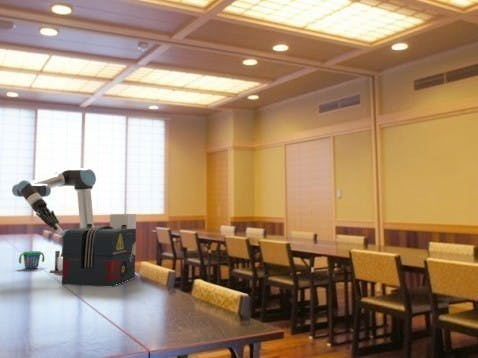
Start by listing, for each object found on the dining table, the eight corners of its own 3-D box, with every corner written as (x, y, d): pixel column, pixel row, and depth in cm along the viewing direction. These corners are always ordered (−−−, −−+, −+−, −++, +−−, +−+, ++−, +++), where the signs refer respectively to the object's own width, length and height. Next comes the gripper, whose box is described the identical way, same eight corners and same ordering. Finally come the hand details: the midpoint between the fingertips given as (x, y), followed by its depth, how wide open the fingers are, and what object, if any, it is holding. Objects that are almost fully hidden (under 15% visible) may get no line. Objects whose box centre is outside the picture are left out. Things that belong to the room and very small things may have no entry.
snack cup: (40, 266, 309) (41, 250, 309) (47, 268, 301) (47, 251, 302) (15, 268, 298) (16, 251, 298) (21, 270, 290) (22, 253, 291)
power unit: (111, 287, 237) (113, 226, 238) (61, 284, 242) (63, 225, 244) (135, 278, 264) (136, 224, 266) (89, 276, 270) (91, 223, 271)
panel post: (58, 270, 290) (59, 250, 291) (66, 271, 286) (67, 250, 286) (46, 272, 284) (47, 251, 284) (54, 273, 279) (55, 251, 280)
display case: (108, 274, 278) (110, 214, 280) (117, 271, 288) (118, 213, 290) (126, 275, 275) (128, 214, 277) (134, 272, 286) (136, 214, 288)
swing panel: (57, 269, 283) (57, 257, 283) (60, 268, 284) (60, 256, 285) (75, 272, 269) (76, 260, 269) (78, 272, 270) (79, 260, 271)
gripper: (40, 207, 275) (64, 237, 270) (24, 207, 263) (49, 239, 257) (49, 198, 274) (73, 228, 268) (33, 198, 262) (58, 229, 256)
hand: (61, 233), depth 263 cm, fingers closed
